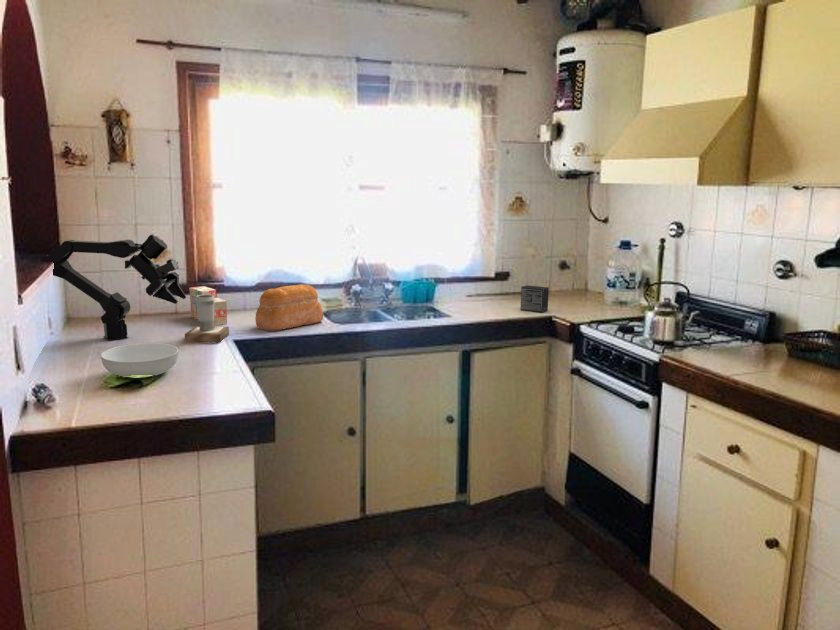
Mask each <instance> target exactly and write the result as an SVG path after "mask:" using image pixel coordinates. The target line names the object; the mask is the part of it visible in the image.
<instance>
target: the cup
mask: <svg viewBox="0 0 840 630" xmlns="http://www.w3.org/2000/svg"><path fill="white" fill-rule="evenodd" d="M214 300H215V298H214V295H198V296H196V299H195V301H197V314H198V320H197V321H198V325H199V327H200V331H211V330H213V329H214V327H215V326H214Z"/></svg>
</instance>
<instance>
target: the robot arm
mask: <svg viewBox="0 0 840 630" xmlns="http://www.w3.org/2000/svg"><path fill="white" fill-rule="evenodd" d="M167 249H168V245H167V243H166V242H165V241H164V240H162V239H160V238H159V237H157V236H155V235H154V234H150V235H148V237H147V238H146V240H145V241H144V242H143V243H135V242H134V241H133V240H131V239H122V240H112V241H91V240H89V241H88V240H75V239H69V240H68V239H67V240H64V241H63V242H62V243H61V244H60V245H59V246H58V247H56V248H55V249H54V250H53V251H51V252H50V253H49V254H47V255H44V256H42V257H41V258H40V260H39V262H40V261H42V262H53V263H54V269H53V275H52V276H54V277H56V278H57V277H58V278H61V279H63V280H65V281H66V282H68V283H69V284H70V285H72V286H74V287H75V288H77V289H78V290H80V291H81V292H82V293H83V294H85V295H87V296H88V297H90V298H91V299H93V300H94V301H95V302H96V303H98V304H99V306H100V307H101V308H102V310H103V311H104V314H103V315H102V316H100V321H101V322H102V324H103V329H104V331H103V332H104V335H102V337H103V338H104V339H105V340H107V341H110V342H111V341H117V340H123V339H125V340H126V339H128V337H129V336H128V328H127V327H128V325H127V324H126V321H125V320H124V319H126V316H127V314H129V313H130V311H131V303H130V302H129V300H128V298H127V297H124V296H123V295H121V294H120V293H119V292H118V291H116V292H114V293H109V292H107V291H106V290H105V289H103V288H101V287H100V286H99V285H97V283H95V282H93V281H92V280H90V279H88V278H87V277H86V276H84V275H82V273H80V272H78V271H77V270H76V269H74V268H73V266H72V265H71V263H70V262H69V261H68V260H69V259H70V258H71V256H72V255H73V253H81V254H83V253H86V254H87V253H88V254H106V255H109V256H110V257H111V256H113V257H116V258H121V259H126V258H128V257H130V258H129V259H126V260H124V269H125V270H126V269H130V268H131V267H132V268H133V269H134V270H135V271H137V272H138V273H139V274H140V275H141V279H142V280H146V281H147V282H148V283H149V284H148V286H146V288H145V293H146V294H147V295H148V296H149V297H151V296H152V297H153V298H157V299H160V300H163V301H166V302H168V303H169V302H170V303H172V304H175V305H177V303H178V302H179V301H178V300H177V299H176V297H179V298H180V299H183V300H185V299H186V298H187V295H186V294H185V293H184V291H183V289H182V287H181V286H180V284H179V283H180V274H178V272H176V270H178V269H180V268H179V265H178V264H179V262H178V261H176V259H173V258H170V259H168V260H166V263H165V264H163V265H160V264H158V263H154V262H153V261H152V259H154V260H157V259H158V258H159V257H160V256H161V255H162V254H163V253H164V252H165V251H166V250H167ZM136 253H137V254H136ZM175 296H176V297H175Z"/></svg>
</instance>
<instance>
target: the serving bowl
mask: <svg viewBox="0 0 840 630" xmlns="http://www.w3.org/2000/svg"><path fill="white" fill-rule="evenodd" d="M178 358H179V348H178V347H177V346H175V345H173V344H169V343H162V342H161V343H159V342H145V343H144V342H143V343H133V344H131V343H130V344H124V345H120V346H119V345H118V346H115V347H111V348H108V349H106V350H104V351H102V352H101V353H100V360H101V363H102V365H103V367H104V369H105V370H106V371H108V372H109V373H111V374H112V375H114V376H116V375H120V376H131V375H155V376H159V375H161V374H164V373H166V372H168V371H169V370H171V369H172V368H173V367H174V366H175V365H176V364H177V361H178ZM120 376H119V377H120Z"/></svg>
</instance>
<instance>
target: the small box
mask: <svg viewBox="0 0 840 630" xmlns="http://www.w3.org/2000/svg"><path fill="white" fill-rule="evenodd" d="M520 289H521V290H520V311H523V312H530V311H531V313H532V312H533V313H541V314H542V313H545V312H548V310H549V287H548V286H547V287H546V286H538V285H537V286H536V285H527V284H526V285H524V286H521V288H520Z"/></svg>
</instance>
